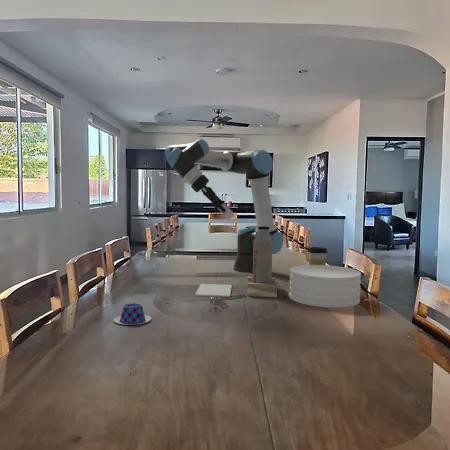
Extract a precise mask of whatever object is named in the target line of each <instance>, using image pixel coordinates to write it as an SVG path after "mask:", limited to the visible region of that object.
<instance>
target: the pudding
mask: <svg viewBox="0 0 450 450" xmlns="http://www.w3.org/2000/svg"><path fill="white" fill-rule="evenodd" d="M122 307H123V308H122V311H121V315H118V316H116V317H114V318H113V322H114V323H116V324H119V325H124V326H125V325H128V326H132V325H133V326H134V325H135V326H136V325H143V324H146V323H148V322H150V321H152V317H151V316H150V315H148V314H145V312H144V308H143V306H142V305H141V304H140V303H135V302H134V303H127V304H124V305H123V306H122Z"/></svg>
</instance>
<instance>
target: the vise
mask: <svg viewBox="0 0 450 450" xmlns="http://www.w3.org/2000/svg"><path fill="white" fill-rule="evenodd" d="M252 280H253V276H247V289H246V291H247V292H246V293H247V296H246V297H259V298H260V297H261V298H262V297H263V298H285V289H284V285H283V283H282V282H277V281H276V277H271V284H268V283H252Z"/></svg>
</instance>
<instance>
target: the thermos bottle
mask: <svg viewBox="0 0 450 450" xmlns="http://www.w3.org/2000/svg"><path fill="white" fill-rule="evenodd" d="M269 229H270V227H264V226H261V227H258V233H257V234H256V235H255V239H254V245H253V272H252V277H253V280H252V283H268V284H271V278H272V273H273V272H272V269H273V254H272V247H273V240H271V235H270V234H269Z"/></svg>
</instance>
